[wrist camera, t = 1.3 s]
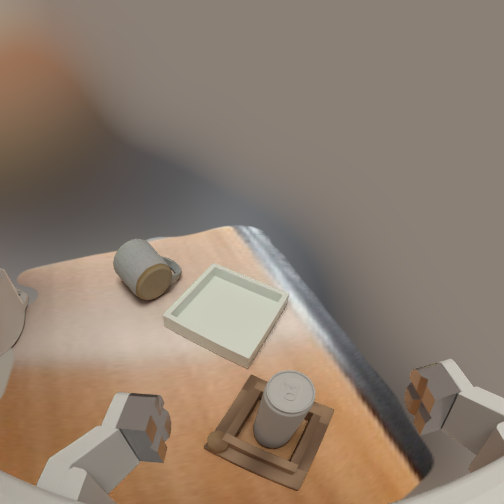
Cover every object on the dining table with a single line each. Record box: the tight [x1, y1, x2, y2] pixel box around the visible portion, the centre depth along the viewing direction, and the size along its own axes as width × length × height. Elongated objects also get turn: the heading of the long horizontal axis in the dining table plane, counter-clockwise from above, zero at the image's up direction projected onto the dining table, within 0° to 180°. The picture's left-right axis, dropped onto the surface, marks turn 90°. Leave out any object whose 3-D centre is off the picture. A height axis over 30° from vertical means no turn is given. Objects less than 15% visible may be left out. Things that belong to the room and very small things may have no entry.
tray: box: [163, 263, 289, 369], centre depth 47 cm, size 14×14×3 cm
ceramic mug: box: [113, 239, 181, 300], centre depth 50 cm, size 11×8×8 cm
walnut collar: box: [204, 375, 334, 491], centre depth 33 cm, size 12×12×2 cm
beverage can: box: [253, 370, 315, 448], centre depth 30 cm, size 5×5×12 cm
